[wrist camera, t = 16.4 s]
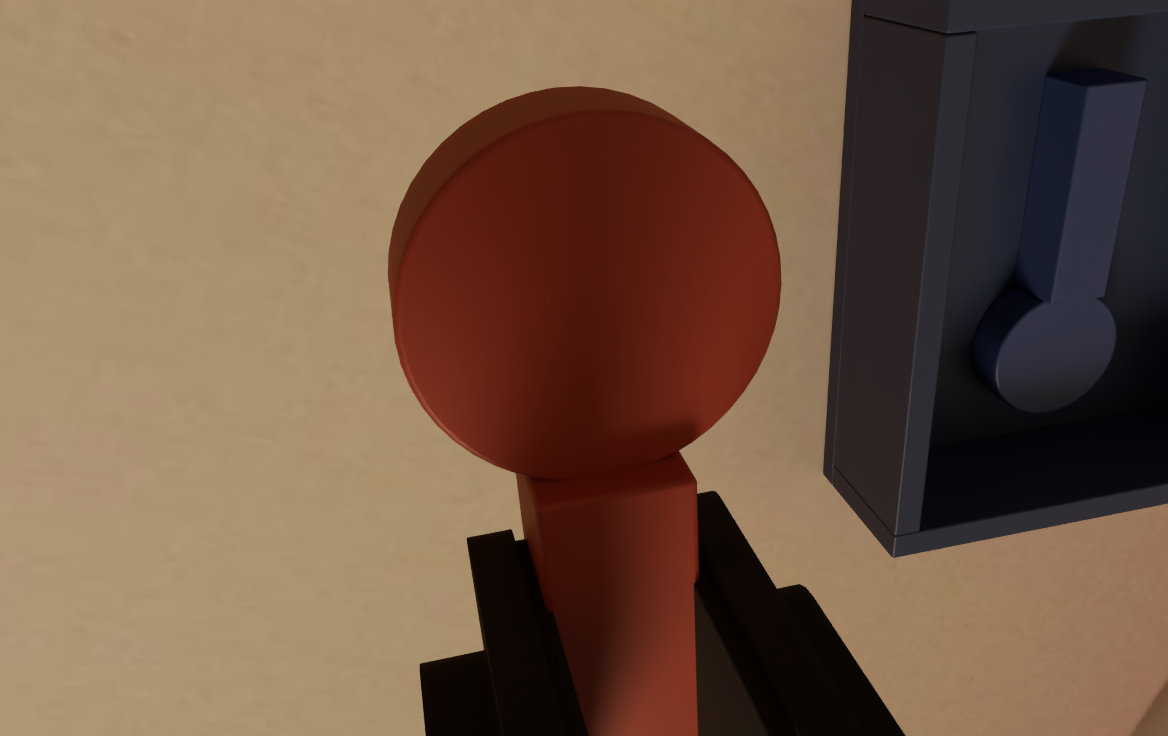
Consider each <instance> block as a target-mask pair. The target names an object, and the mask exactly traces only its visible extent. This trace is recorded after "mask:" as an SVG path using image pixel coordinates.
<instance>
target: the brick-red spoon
mask: <svg viewBox="0 0 1168 736" xmlns="http://www.w3.org/2000/svg"><path fill="white" fill-rule="evenodd" d="M388 281H389V290H390V300H391V309H392V318H393V328H394V337H395V344H396V348H397V351H398V355H399V359H400V363H401V366H402V369H403V371H404V373H405V376H406V378H407V381H408V383H409V385H410V388H411V389H412V391H413V393H414V394H415V396H416V398H417V399H418V401H419V403H420V404H421V406H422V407H423V409H424V410H425V411H426V412H427V414H428V415H429V416H430V417H431V419H432V420H433V421H434V422H435V423H436V425H437V426H438V427H439V428H441V429H442V430H443V431H444V432H445V433H446V434H447V435H448V436H449V437H450V438H451V439H452V440H454V441H455V442H456V443H458V444H459V445H461V446H462V447H463V448H465V449H466V450H468V451H469V452H471V453H472V454H474V455H475V456H477V457H479V458H481V459H483V460H485V461H487V462H489V463H491V464H493V465H495V466H498V467H500V468H503V469H506V470H509V471H511V472H514V473H516V477H517V485H518V493H519V501H520V509H521V517H522V525H523V533H524V539H526V540H527V543H528V546H529V550H530V554H531V557H532V561H533V564H534V568H535V572H536V575H537V579H538V582H539V586H540V590H541V593H542V597H543V600H544V604H545V608H546V609H547V610H548V611H549V612H553V613H554V617H555V620H556V624H557V627H558V631H559V634H560V638H561V641H562V645H563V648H564V651H565V655H566V658H567V662H568V665H569V669H570V672H571V676H572V679H573V683H574V686H575V690H576V693H577V697H578V700H579V704H580V707H581V711H582V714H583V717H584V721H585V724H586V728H587V731H588V735H589V736H698V723H697V686H696V649H695V612H694V583H696V582H697V581H699V549H698V509H697V481H696V479H695V477H694V475H693V474H692V472H691V470H690V469H689V467H688V465H687V464H686V462H685V460H684V459H683V457H682V455H681V454H680V452H679V450H680V449H682V448H684V447H685V446H687V445H688V444H690V443H692V442H693V441H695V440H696V439H697V438H698V437H700V436H701V435H702V434H703V433H705V432H706V431H707V430H708V429H710V428H711V427H712V426H713V425H714V424H715V423H716V422H717V421H718V420H719V419H720V418H721V417H722V416H723V415H724V414H725V413H726V412H727V411H728V410H729V409H730V408H731V407H732V406H733V404H734V403H735V402H736V401H737V400H738V398H739V397H740V396H741V395H742V393H743V392H744V391H745V389H746V388H747V386H748V384H749V383H750V381H751V380H752V378H753V377H754V375H755V374H756V372H757V370H758V368H759V366H760V364H761V362H762V360H763V358H764V356H765V354H766V352H767V349H768V346H769V343H770V340H771V337H772V335H773V332H774V329H775V324H776V319H777V315H778V310H779V304H780V292H781V265H780V254H779V249H778V243H777V238H776V233H775V231H774V228H773V225H772V222H771V219H770V216H769V213H768V211H767V209H766V207H765V205H764V203H763V201H762V199H761V197H760V195H759V193H758V191H757V190H756V188H755V187H754V185H753V184H752V182H751V181H750V180H749V178H748V177H747V175H746V174H745V173H744V171H743V170H742V169H741V168H740V167H739V166H738V165H737V164H736V163H735V162H734V161H733V160H732V159H731V158H730V157H729V156H728V155H727V154H726V153H725V152H724V151H722V150H721V149H720V148H719V147H717V146H716V145H715V144H713V143H712V142H711V141H710V140H708V139H707V138H705V137H704V136H703V135H701V134H700V133H698V132H697V131H695V130H694V129H692V128H691V127H689V126H688V125H686V124H685V123H684V122H682V121H681V120H679V119H678V118H676V117H675V116H673V115H672V114H670V113H668V112H667V111H665V110H663V109H661V108H660V107H658V106H656V105H654V104H652V103H651V102H648V101H645V100H643V99H640V98H638V97H635V96H632V95H630V94H626V93H622V92H618V91H614V90H609V89H605V88H593V87H582V86H577V87H557V88H550V89H545V90H540V91H535V92H530V93H527V94H524V95H521V96H518V97H515V98H512V99H509V100H506V101H504V102H502V103H499V104H497V105H495V106H493V107H491V108H489V109H487V110H485V111H483V112H481V113H480V114H478V115H477V116H475V117H474V118H472V119H471V120H469V121H468V122H466V123H465V124H463V125H462V126H461V127H459V128H458V129H457V130H456V131H455V132H454V133H453V134H451V135H450V136H449V137H448V138H447V139H446V140H445V141H443V142H442V143H441V144H440V146H439V147H438V148H437V149H436V150H435V151H434V152H433V153H432V155H431V156H430V157H429V158H428V159H427V160H426V161H425V163H424V164H423V166H422V167H421V169H420V170H419V172H418V173H417V175H416V176H415V178H414V179H413V181H412V182H411V184H410V186H409V188H408V190H407V193H406V195H405V197H404V199H403V201H402V203H401V205H400V208H399V211H398V214H397V217H396V220H395V223H394V226H393V230H392V236H391V242H390V247H389V257H388Z"/></svg>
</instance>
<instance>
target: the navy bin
mask: <svg viewBox="0 0 1168 736" xmlns="http://www.w3.org/2000/svg"><path fill="white" fill-rule="evenodd" d="M1099 68H1104V69H1108V70H1112V71H1117V72H1121V73H1126V74H1130V75H1134V76H1139V77H1143V78H1146V79H1147V80H1148V83H1147V88H1146V93H1145V98H1144V103H1143V108H1142V113H1141V118H1140V123H1139V128H1138V133H1137V138H1136V143H1135V148H1134V153H1133V158H1132V163H1131V168H1130V173H1129V178H1128V183H1127V188H1126V193H1125V198H1124V203H1123V208H1122V213H1121V218H1120V223H1119V228H1118V233H1117V238H1116V243H1115V248H1114V253H1113V258H1112V263H1111V268H1110V273H1109V278H1108V283H1107V288H1106V293H1105V296H1104V297H1100V299H1102V300H1103V301H1104V302H1105V303H1106V304H1107V306H1108V307H1109V308H1110V310H1111V312H1112V314H1113V316H1114V319H1115V322H1116V329H1117V338H1116V345H1115V349H1114V353H1113V355H1112V358H1111V361H1110V363H1109V365H1108V366H1107V368H1106V370H1105V372H1104V373H1103V375H1102V376H1101V377H1100V379H1099V380H1098V381H1097V383H1096V384H1095V385H1094V386H1093V387H1092V388H1091V389H1090V390H1089V391H1088V392H1087V393H1085V394H1084V395H1083V396H1082V397H1080V398H1079V399H1078V400H1076V401H1075V402H1073V403H1071V404H1070V405H1068V406H1066V407H1064V408H1061V409H1059V410H1056V411H1052V412H1048V413H1041V414H1031V413H1025V412H1021V411H1018V410H1016V409H1014V408H1012V407H1010V406H1009V405H1008V404H1006V403H1005V402H1004V401H1002V400H1001V399H1000V398H999V397H997V396H996V395H995V394H993V393H992V392H991V391H989V390H988V389H987V388H986V387H984V386H983V385H982V383H981V382H980V381H979V379H978V378H977V376H976V374H975V371H974V368H973V364H972V345H973V340H974V337H975V334H976V331H977V329H978V326H979V324H980V322H981V321H982V319H983V317H984V316H985V314H986V313H987V312H988V310H989V309H990V308H991V307H992V305H993V304H994V303H995V302H996V301H997V300H998V299H999V298H1000V297H1002V296H1003V295H1004V294H1005V293H1007V292H1008V291H1009V290H1011V289H1013V288H1014V287H1016V286H1017V285H1016V284H1015V282H1014V280H1015V273H1016V267H1017V260H1018V254H1019V247H1020V241H1021V234H1022V228H1023V221H1024V215H1025V208H1026V202H1027V195H1028V189H1029V182H1030V176H1031V169H1032V163H1033V156H1034V150H1035V143H1036V137H1037V130H1038V124H1039V117H1040V111H1041V104H1042V98H1043V91H1044V85H1045V78H1046V76H1047V75H1048V74H1052V73H1061V72H1071V71H1080V70H1089V69H1099ZM823 474H824V476H825V477H826V478H827V479H828V480H829V482H830V483H831V484H833V486H834V488H835V489H836V490H837V491H838V492H839V494H840V495H841V496H842V497H843V498H844V500H845V501H846V502H847V503H848V505H849V506H850V507H851V508H852V509H853V511H854V512H855V513H856V514H857V515H858V517H859V518H860V519H861V520H862V521H863V523H864V524H865V525H866V526H867V528H868V529H869V530H870V531H871V532H872V534H873V535H874V536H875V537H876V538H877V540H878V541H879V542H880V543H881V544H882V546H883V547H884V548H885V549H886V551H887V552H888V553H889V554H890V555H891V557H893V558H895V557H900V556H905V555H910V554H915V553H920V552H925V551H930V550H936V549H941V548H946V547H951V546H956V545H961V544H966V543H971V542H976V541H981V540H986V539H991V538H996V537H1001V536H1006V535H1011V534H1016V533H1021V532H1026V531H1031V530H1036V529H1042V528H1047V527H1052V526H1057V525H1062V524H1067V523H1072V522H1077V521H1082V520H1087V519H1092V518H1097V517H1102V516H1107V515H1112V514H1117V513H1122V512H1127V511H1132V510H1137V509H1142V508H1148V507H1153V506H1158V505H1163V504H1168V0H852V9H851V25H850V42H849V58H848V75H847V91H846V108H845V124H844V140H843V157H842V173H841V190H840V206H839V222H838V239H837V255H836V272H835V288H834V305H833V321H832V337H831V354H830V370H829V387H828V403H827V419H826V436H825V452H824V469H823Z"/></svg>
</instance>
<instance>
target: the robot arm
mask: <svg viewBox="0 0 1168 736" xmlns="http://www.w3.org/2000/svg"><path fill="white" fill-rule="evenodd" d="M697 509H698V549H699V581H697V582H696V583H694V612H695V649H696V686H697V723H698V736H905V734H904V733H903V731H902V730H901V728H900V727H899V725H898V724H897V722H896V721H895V719H894V718H893V716H892V715H891V713H890V712H889V710H888V709H887V707H886V706H885V704H884V703H883V701H882V700H881V698H880V697H879V695H878V694H877V692H876V691H875V689H874V688H873V686H872V685H871V683H870V682H869V680H868V679H867V677H866V676H865V674H864V673H863V671H862V669H861V668H860V666H859V665H858V663H857V662H856V660H855V659H854V657H853V656H852V654H851V653H850V651H849V650H848V648H847V647H846V645H845V644H844V642H843V641H842V639H841V638H840V636H839V635H838V633H837V632H836V630H835V629H834V627H833V626H832V624H831V623H830V621H829V620H828V618H827V617H826V615H825V614H824V612H823V611H822V609H821V608H820V606H819V605H818V603H817V601H816V600H815V598H814V597H813V596H812V594H811V593H810V592H809V591H808V590H807V588H806V587H804V586H802V585H800V584H798V585H793V586H788V587H783V588H778V589H777V588H776V587H775V585H774V583H773V582H772V580H771V579H770V577H769V575H768V574H767V572H766V571H765V569H764V567H763V566H762V564H761V562H760V561H759V559H758V558H757V556H756V554H755V553H754V551H753V549H752V548H751V546H750V545H749V543H748V541H747V540H746V538H745V536H744V535H743V533H742V532H741V530H740V528H739V527H738V525H737V523H736V522H735V520H734V519H733V517H732V515H731V514H730V512H729V510H728V509H727V507H726V506H725V504H724V502H723V501H722V499H721V498H720V496H719V495H718V494H717V492H715V491H709V492H704V493H699V494H697ZM467 545H468V551H469V557H470V564H471V570H472V576H473V583H474V589H475V595H476V602H477V608H478V614H479V621H480V627H481V633H482V640H483V646H484V650H483V651H478V652H474V653H469V654H464V655H459V656H454V657H450V658H445V659H440V660H435V661H431V662H426V663H421V664H420V679H421V690H422V700H423V711H424V721H425V732H426V736H589V735H588V731H587V728H586V724H585V721H584V717H583V714H582V711H581V707H580V704H579V700H578V697H577V693H576V690H575V686H574V683H573V679H572V676H571V672H570V669H569V665H568V662H567V658H566V655H565V651H564V648H563V645H562V641H561V638H560V634H559V631H558V627H557V624H556V620H555V617H554V613H553V612H549V611H548V610H547V609H546V608H545V604H544V600H543V597H542V593H541V590H540V586H539V582H538V579H537V575H536V572H535V568H534V564H533V561H532V557H531V554H530V550H529V546H528V543H527V540H526V539H523V540H518V541H515V539H514V535H513V532H512V530H511V529H510V530H505V531H500V532H495V533H489V534H484V535H479V536H474V537H468V538H467Z"/></svg>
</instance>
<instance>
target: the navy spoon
mask: <svg viewBox="0 0 1168 736" xmlns="http://www.w3.org/2000/svg"><path fill="white" fill-rule="evenodd" d="M1147 83H1148V80H1147V79H1146V78H1143V77H1139V76H1134V75H1130V74H1126V73H1121V72H1117V71H1112V70H1108V69H1104V68H1099V69H1089V70H1080V71H1071V72H1061V73H1052V74H1048V75H1047V76H1046V78H1045V85H1044V91H1043V98H1042V104H1041V111H1040V117H1039V124H1038V130H1037V137H1036V143H1035V150H1034V156H1033V163H1032V169H1031V176H1030V182H1029V189H1028V195H1027V202H1026V208H1025V215H1024V221H1023V228H1022V234H1021V241H1020V247H1019V254H1018V260H1017V267H1016V273H1015V280H1014V282H1015V284H1016V285H1017V286H1016V287H1014V288H1013V289H1011V290H1009V291H1008V292H1007V293H1005V294H1004V295H1003V296H1002V297H1000V298H999V299H998V300H997V301H996V302H995V303H994V304H993V305H992V307H991V308H990V309H989V310H988V312H987V313H986V314H985V316H984V317H983V319H982V321H981V322H980V324H979V326H978V329H977V331H976V334H975V337H974V340H973V345H972V364H973V368H974V371H975V374H976V376H977V378H978V379H979V381H980V382H981V383H982V385H983V386H984V387H986V388H987V389H988V390H989V391H991V392H992V393H993V394H995V395H996V396H997V397H999V398H1000V399H1001V400H1002V401H1004V402H1005V403H1006V404H1008V405H1009V406H1010V407H1012V408H1014V409H1016V410H1018V411H1021V412H1025V413H1031V414H1041V413H1048V412H1052V411H1056V410H1059V409H1061V408H1064V407H1066V406H1068V405H1070V404H1071V403H1073V402H1075V401H1076V400H1078V399H1079V398H1080V397H1082V396H1083V395H1084V394H1085V393H1087V392H1088V391H1089V390H1090V389H1091V388H1092V387H1093V386H1094V385H1095V384H1096V383H1097V381H1098V380H1099V379H1100V377H1101V376H1102V375H1103V373H1104V372H1105V370H1106V368H1107V366H1108V365H1109V363H1110V361H1111V358H1112V355H1113V353H1114V349H1115V345H1116V338H1117V329H1116V322H1115V319H1114V316H1113V314H1112V312H1111V310H1110V308H1109V307H1108V306H1107V304H1106V303H1105V302H1104V301H1103V300H1102V299H1100V297H1104V296H1105V293H1106V288H1107V283H1108V278H1109V273H1110V268H1111V263H1112V258H1113V253H1114V248H1115V243H1116V238H1117V233H1118V228H1119V223H1120V218H1121V213H1122V208H1123V203H1124V198H1125V193H1126V188H1127V183H1128V178H1129V173H1130V168H1131V163H1132V158H1133V153H1134V148H1135V143H1136V138H1137V133H1138V128H1139V123H1140V118H1141V113H1142V108H1143V103H1144V98H1145V93H1146V88H1147Z"/></svg>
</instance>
